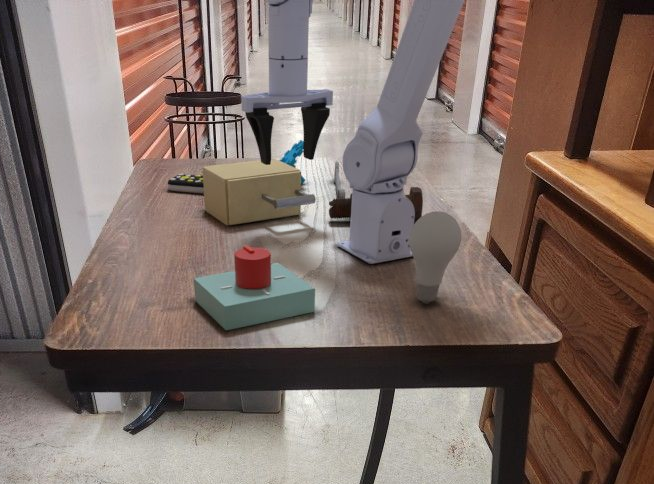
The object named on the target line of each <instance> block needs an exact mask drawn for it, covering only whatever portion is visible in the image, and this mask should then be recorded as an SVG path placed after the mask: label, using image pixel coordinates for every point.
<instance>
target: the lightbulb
mask: <svg viewBox="0 0 654 484" xmlns="http://www.w3.org/2000/svg"><path fill="white" fill-rule="evenodd" d="M461 242H462V230H461V226H460V224H459V222H458V221H457V219H456V218H454V217H453V216H452V215H451V214H450V213H447V212H445V211H439V210H437V211H435V210H434V211H430V212H428V213H425V214H422V216H421V218H419V219H418V220H417V221H416V223H415V224H414V225H413V227H412V230H411V233H410V236H409V245H410V249H411V252H412V255H413V256H412V258H413V260H414V263H415V267H416V269H415V270H416V277H415V278H416V280H415V281H416V282H417V287H416V288H417V289H416V298H417V299H418V300H419V301H421V303H423V304H430V303H431V302H434V301H436V300H437V298H438V293H439V288H440V285H441V284H442V282H443V278H444V274H445V271H446V269H447V267H448V266H449V263H450V262H451V261H452V260H453V259H454V257H455V256H456V254H457V253H458V251H459V249H460V246H461V244H462V243H461Z"/></svg>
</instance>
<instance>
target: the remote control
mask: <svg viewBox="0 0 654 484" xmlns="http://www.w3.org/2000/svg"><path fill="white" fill-rule="evenodd" d="M167 188H168V190H169V191H171V192H177V193H178V192H179V193H190V194H191V193H192V194H202V195H204V184H203V175H200V174H196V175H195V174H184V173H178V174H177V175H174V176H173V177H172V178H170V179H168V180H167Z"/></svg>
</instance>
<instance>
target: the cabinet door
mask: <svg viewBox="0 0 654 484" xmlns="http://www.w3.org/2000/svg"><path fill="white" fill-rule="evenodd" d="M301 175H302V171H301V170H300V171H297V172H289V173H281V174H273V175H265V176H257V177H249V178H241V179H233V180H227V185H228V206H229V224H230V225H229V226H233V224H234V225H241V224H247V223H252V222H253V221H254V222H259V221H266V219H267V220H271V219H272V220H273V219H280V218H286V217H291V216H292V215H293V216H299V215H301V213H302V211H301V210H302V206H307V205H313V204H315V203H316V200H317V199H316V195H315V194H314V193H312V194H309V193H307V192H305V191H303V190H302V184H301ZM279 217H280V218H279ZM246 222H247V223H246Z"/></svg>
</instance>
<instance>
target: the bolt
mask: <svg viewBox="0 0 654 484" xmlns="http://www.w3.org/2000/svg"><path fill="white" fill-rule="evenodd" d="M349 196H350V197H345V198H342V199H341V198H340V199H339V198H338V199H337V197H336V198H335V197H334V198H333V199H332V200H331V201H329V202H328V205H329V207H330V208H329V209H328V216H329V218H331V219H334V220H337V219H339V220H340V219H341V220H342V219H349V222H350V221H351V205H352V192H351V193H350V195H349ZM405 196H406V197H407V198H408V199H409V200H410V201H411V202H412V204H413V206H414V210H415V218H414V224H415V223H416V221H417V220H418V219H419V218H421V217H422V216H423V207H424V204H423V203H424V197H423V189H422V188H420V187H418V186H410V188H409V194H405Z"/></svg>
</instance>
